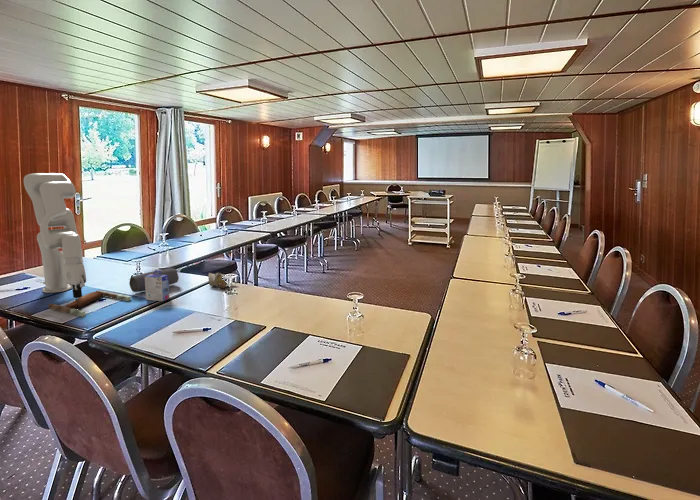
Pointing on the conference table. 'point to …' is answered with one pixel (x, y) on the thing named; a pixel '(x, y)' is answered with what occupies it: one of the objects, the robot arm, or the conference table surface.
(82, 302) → the brown bottle
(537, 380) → the conference table surface
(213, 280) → the ceramic sculpture
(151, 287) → the ink cartridge box
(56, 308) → the beige rail frame
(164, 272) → the bluetooth speaker
